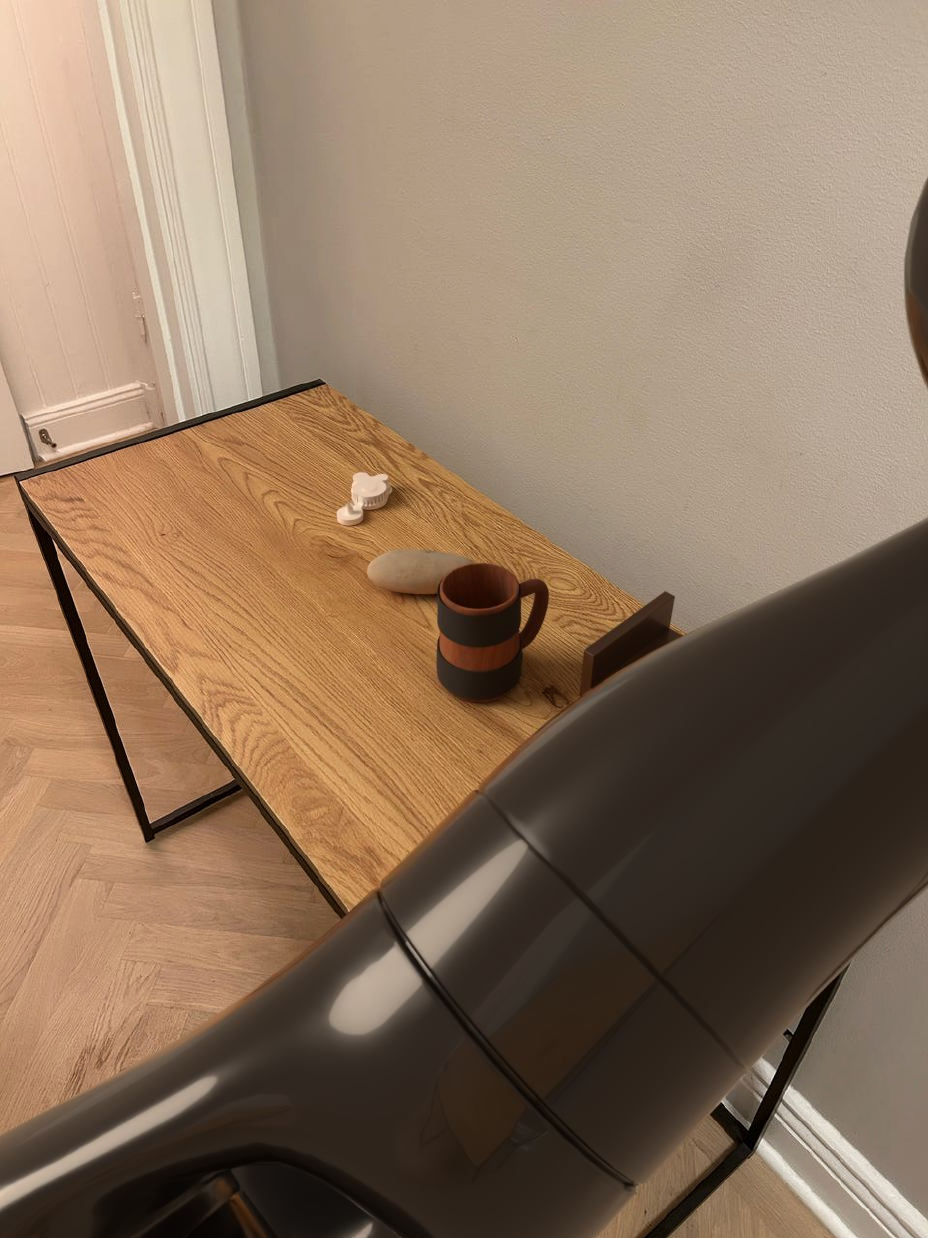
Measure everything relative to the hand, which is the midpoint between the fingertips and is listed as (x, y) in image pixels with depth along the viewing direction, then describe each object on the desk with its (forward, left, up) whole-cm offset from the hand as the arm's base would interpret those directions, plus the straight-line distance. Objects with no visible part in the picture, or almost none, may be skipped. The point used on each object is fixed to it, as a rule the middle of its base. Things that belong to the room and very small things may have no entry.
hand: (520, 968), depth 48 cm
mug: (+32, -31, -22) cm, 50 cm away
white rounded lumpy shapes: (+66, -42, -22) cm, 82 cm away
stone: (+47, -35, -22) cm, 63 cm away
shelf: (+15, -37, -22) cm, 46 cm away
